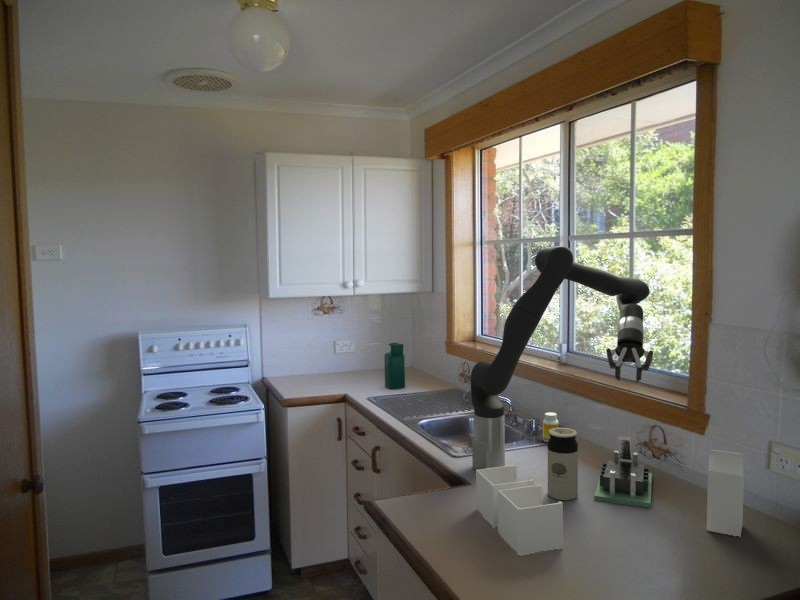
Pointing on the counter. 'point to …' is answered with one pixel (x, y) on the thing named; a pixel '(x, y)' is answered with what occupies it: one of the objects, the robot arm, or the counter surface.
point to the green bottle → (395, 367)
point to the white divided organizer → (518, 510)
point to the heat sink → (624, 476)
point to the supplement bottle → (549, 424)
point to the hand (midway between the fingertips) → (628, 379)
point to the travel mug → (562, 464)
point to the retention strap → (625, 448)
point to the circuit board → (624, 496)
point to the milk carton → (725, 492)
